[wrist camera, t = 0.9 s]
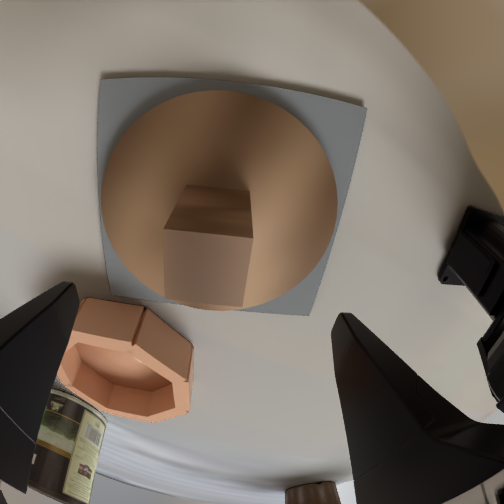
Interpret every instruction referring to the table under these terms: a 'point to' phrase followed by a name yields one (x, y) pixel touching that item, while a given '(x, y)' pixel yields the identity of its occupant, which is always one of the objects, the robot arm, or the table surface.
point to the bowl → (128, 362)
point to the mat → (295, 102)
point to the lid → (219, 200)
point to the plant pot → (313, 494)
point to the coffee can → (67, 449)
